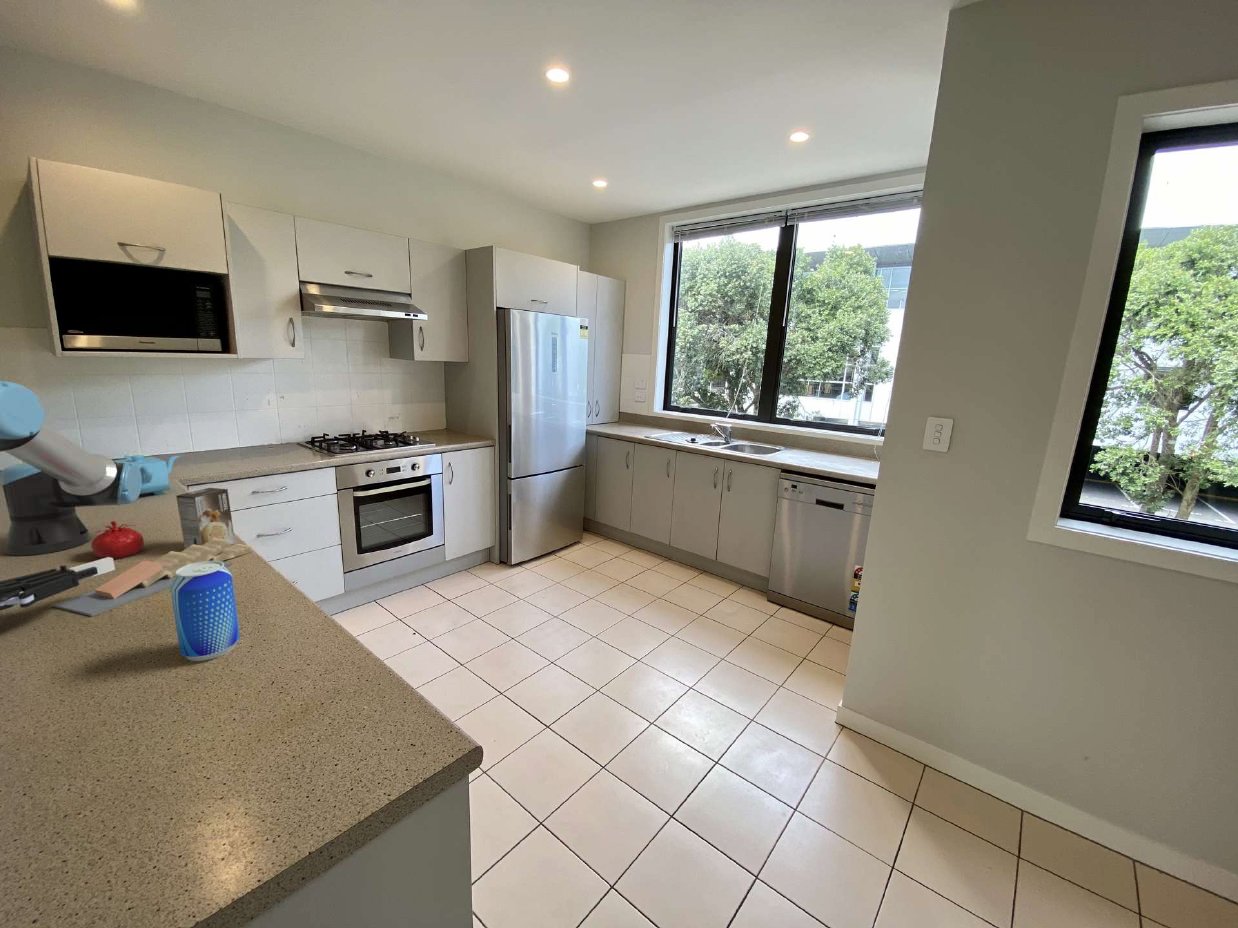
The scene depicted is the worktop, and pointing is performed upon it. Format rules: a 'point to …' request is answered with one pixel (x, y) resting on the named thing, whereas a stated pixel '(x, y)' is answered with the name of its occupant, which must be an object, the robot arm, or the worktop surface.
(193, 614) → the beer can
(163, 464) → the teakettle
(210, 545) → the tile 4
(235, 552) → the wooden block
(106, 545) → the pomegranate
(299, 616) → the worktop surface
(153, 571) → the tile
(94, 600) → the slate board
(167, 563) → the tile
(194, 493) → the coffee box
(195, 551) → the tile
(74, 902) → the worktop surface
